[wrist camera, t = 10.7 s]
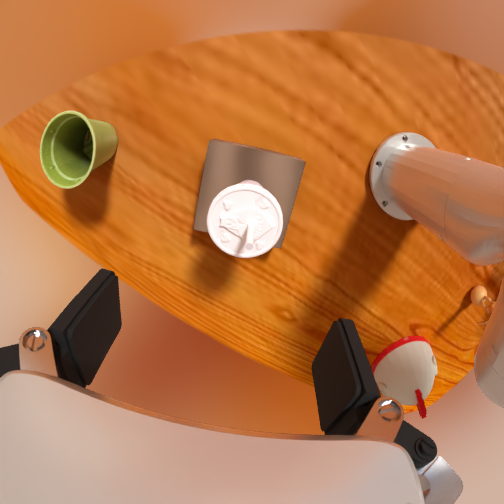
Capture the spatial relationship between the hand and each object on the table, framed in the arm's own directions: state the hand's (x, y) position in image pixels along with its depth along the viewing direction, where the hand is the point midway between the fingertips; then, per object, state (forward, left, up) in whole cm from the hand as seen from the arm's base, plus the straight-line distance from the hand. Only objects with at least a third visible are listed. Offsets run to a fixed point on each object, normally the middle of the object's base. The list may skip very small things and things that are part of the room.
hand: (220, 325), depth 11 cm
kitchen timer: (-39, +26, -27) cm, 54 cm away
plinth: (0, 0, -26) cm, 26 cm away
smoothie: (0, 0, -22) cm, 23 cm away
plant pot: (+22, -3, -27) cm, 35 cm away
